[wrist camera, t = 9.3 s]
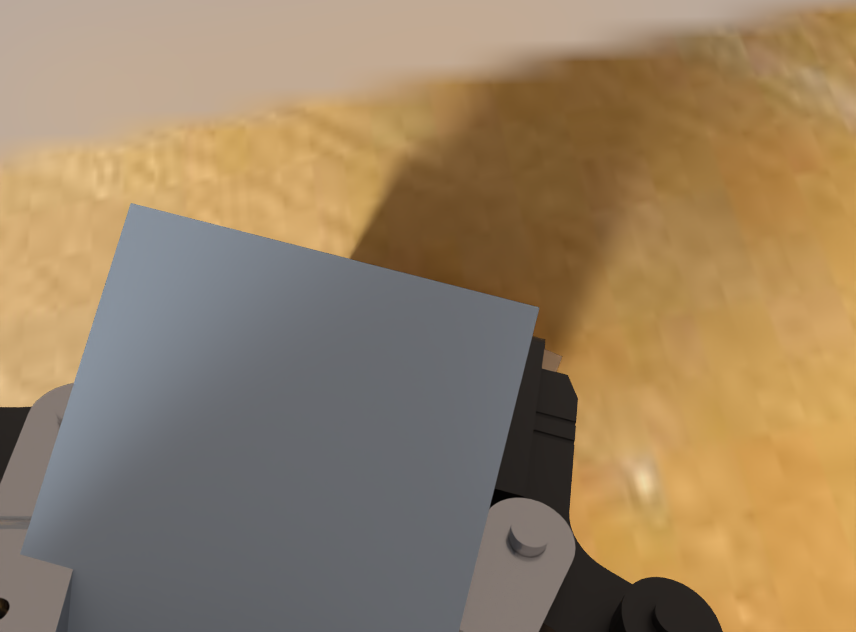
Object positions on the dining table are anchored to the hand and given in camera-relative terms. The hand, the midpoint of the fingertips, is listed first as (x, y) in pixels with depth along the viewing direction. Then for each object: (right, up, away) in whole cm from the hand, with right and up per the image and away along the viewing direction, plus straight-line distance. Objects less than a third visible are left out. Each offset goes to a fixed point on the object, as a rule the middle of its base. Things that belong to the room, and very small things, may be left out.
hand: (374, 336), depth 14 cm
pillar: (0, -2, +4) cm, 5 cm away
